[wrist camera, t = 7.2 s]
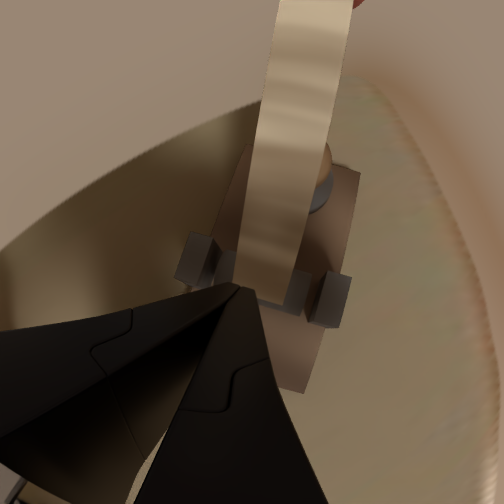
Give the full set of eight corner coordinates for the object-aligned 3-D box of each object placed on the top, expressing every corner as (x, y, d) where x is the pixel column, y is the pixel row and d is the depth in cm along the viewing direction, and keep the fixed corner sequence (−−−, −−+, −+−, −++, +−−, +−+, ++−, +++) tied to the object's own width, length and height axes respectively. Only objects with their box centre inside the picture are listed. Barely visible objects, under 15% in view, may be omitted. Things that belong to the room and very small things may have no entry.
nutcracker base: (305, 390, 15) (318, 417, 10) (175, 347, 17) (132, 353, 11) (359, 180, 18) (383, 129, 13) (245, 150, 20) (235, 95, 14)
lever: (294, 335, 13) (388, -60, 4) (206, 307, 14) (266, -77, 5) (304, 291, 16) (378, -26, 7) (230, 269, 17) (284, -42, 8)
